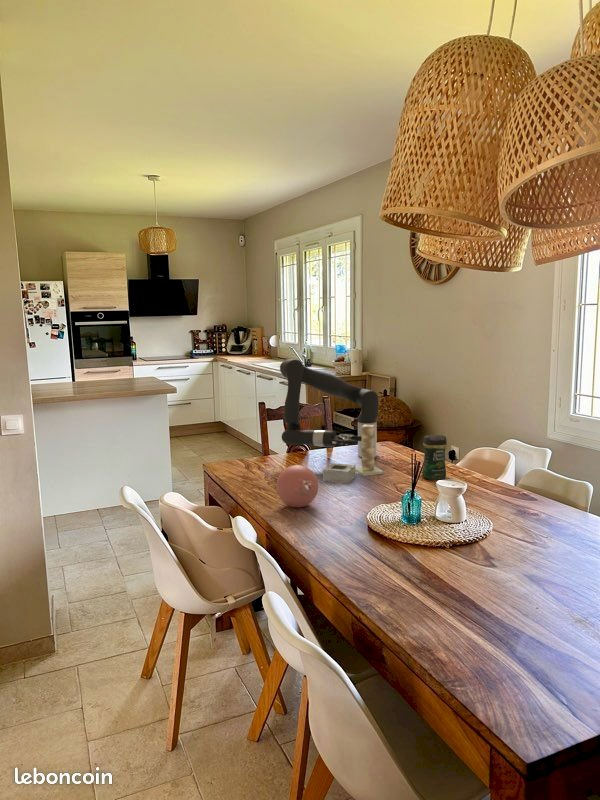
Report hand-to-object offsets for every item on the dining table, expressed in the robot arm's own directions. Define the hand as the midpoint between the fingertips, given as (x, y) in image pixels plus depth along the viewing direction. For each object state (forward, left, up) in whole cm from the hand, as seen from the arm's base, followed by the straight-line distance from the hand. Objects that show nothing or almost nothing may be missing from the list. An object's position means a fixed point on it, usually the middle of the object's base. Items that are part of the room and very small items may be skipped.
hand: (358, 440), depth 253 cm
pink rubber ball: (+38, -41, -14) cm, 57 cm away
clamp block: (+8, -13, -14) cm, 20 cm away
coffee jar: (+22, +25, -14) cm, 36 cm away
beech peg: (+3, +3, -13) cm, 14 cm away
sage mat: (+3, +3, -14) cm, 15 cm away
